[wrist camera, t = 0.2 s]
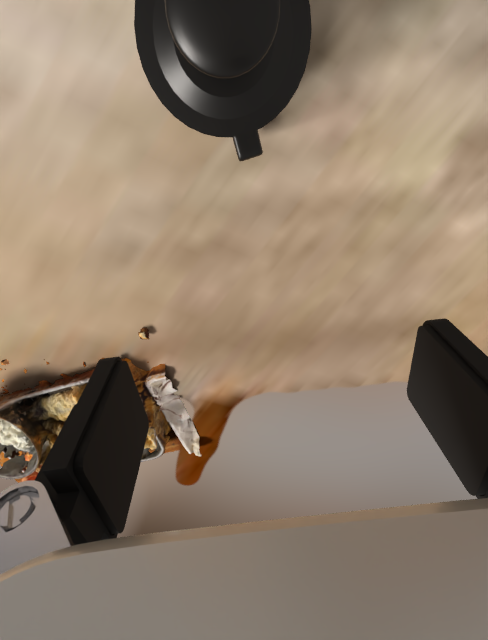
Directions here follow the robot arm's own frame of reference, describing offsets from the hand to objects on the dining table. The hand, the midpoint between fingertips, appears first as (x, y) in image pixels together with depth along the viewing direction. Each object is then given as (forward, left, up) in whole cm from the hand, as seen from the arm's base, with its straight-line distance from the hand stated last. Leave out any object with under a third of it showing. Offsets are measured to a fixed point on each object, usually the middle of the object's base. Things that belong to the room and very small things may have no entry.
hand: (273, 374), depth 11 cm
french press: (-10, 0, -31) cm, 32 cm away
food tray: (+31, -30, -32) cm, 53 cm away
